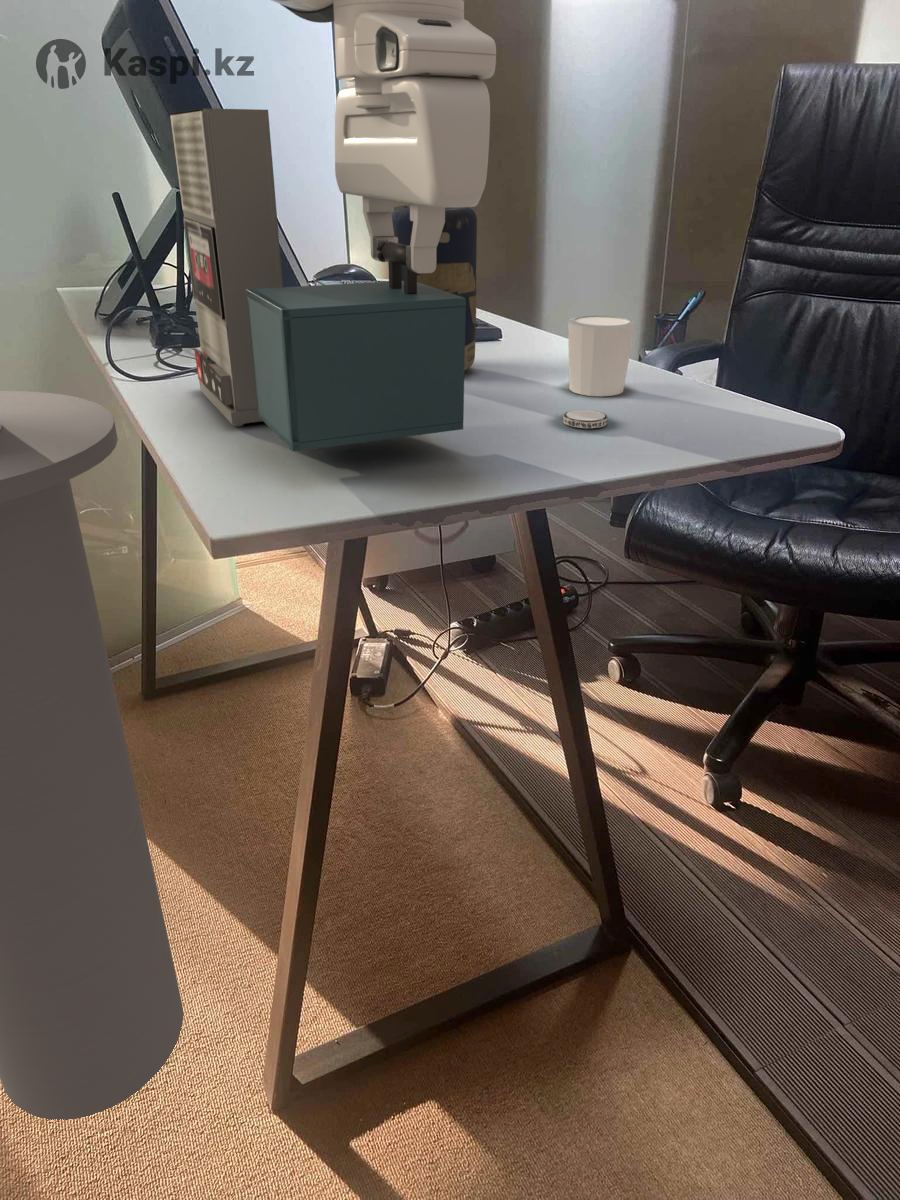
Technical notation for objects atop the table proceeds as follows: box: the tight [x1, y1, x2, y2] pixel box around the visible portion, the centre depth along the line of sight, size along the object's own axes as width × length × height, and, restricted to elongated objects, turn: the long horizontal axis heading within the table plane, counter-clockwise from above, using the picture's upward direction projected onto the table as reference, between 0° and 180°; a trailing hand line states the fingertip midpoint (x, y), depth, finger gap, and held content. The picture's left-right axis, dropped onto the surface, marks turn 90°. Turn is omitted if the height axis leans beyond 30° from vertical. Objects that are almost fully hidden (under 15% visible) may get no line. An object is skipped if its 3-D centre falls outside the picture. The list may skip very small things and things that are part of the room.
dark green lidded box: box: [246, 242, 466, 452], centre depth 66 cm, size 14×10×13 cm
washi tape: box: [562, 409, 608, 429], centre depth 79 cm, size 4×4×1 cm
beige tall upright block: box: [170, 107, 284, 427], centre depth 78 cm, size 14×6×25 cm, turn 26°
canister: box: [387, 204, 478, 371], centre depth 93 cm, size 10×10×18 cm
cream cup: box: [567, 315, 637, 397], centre depth 88 cm, size 7×7×7 cm
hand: (402, 266), depth 65 cm, fingers closed on dark green lidded box, 6 cm apart
